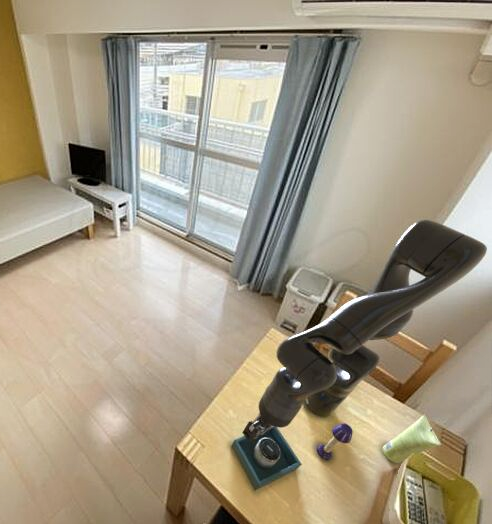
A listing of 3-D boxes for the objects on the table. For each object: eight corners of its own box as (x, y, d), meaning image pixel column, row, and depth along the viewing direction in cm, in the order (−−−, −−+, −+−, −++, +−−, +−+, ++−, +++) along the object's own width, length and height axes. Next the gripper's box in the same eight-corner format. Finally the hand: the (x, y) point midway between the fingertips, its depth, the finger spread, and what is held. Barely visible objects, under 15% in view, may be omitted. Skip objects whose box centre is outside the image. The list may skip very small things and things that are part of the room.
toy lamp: (311, 446, 93) (333, 424, 82) (322, 440, 94) (345, 417, 83) (324, 462, 89) (349, 441, 79) (335, 455, 91) (361, 434, 80)
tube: (406, 458, 90) (449, 433, 78) (399, 469, 88) (441, 445, 75) (386, 441, 94) (424, 414, 81) (378, 451, 92) (416, 425, 79)
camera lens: (266, 475, 87) (274, 466, 82) (248, 456, 90) (254, 447, 85) (277, 458, 90) (285, 449, 85) (259, 441, 93) (265, 431, 88)
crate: (269, 429, 96) (273, 422, 93) (295, 470, 88) (302, 464, 84) (230, 446, 93) (234, 440, 89) (254, 491, 84) (259, 485, 80)
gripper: (269, 433, 62) (251, 459, 73) (315, 402, 67) (292, 431, 78) (245, 402, 68) (231, 430, 78) (289, 375, 73) (271, 405, 83)
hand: (262, 430), depth 78 cm, fingers open, 8 cm apart
